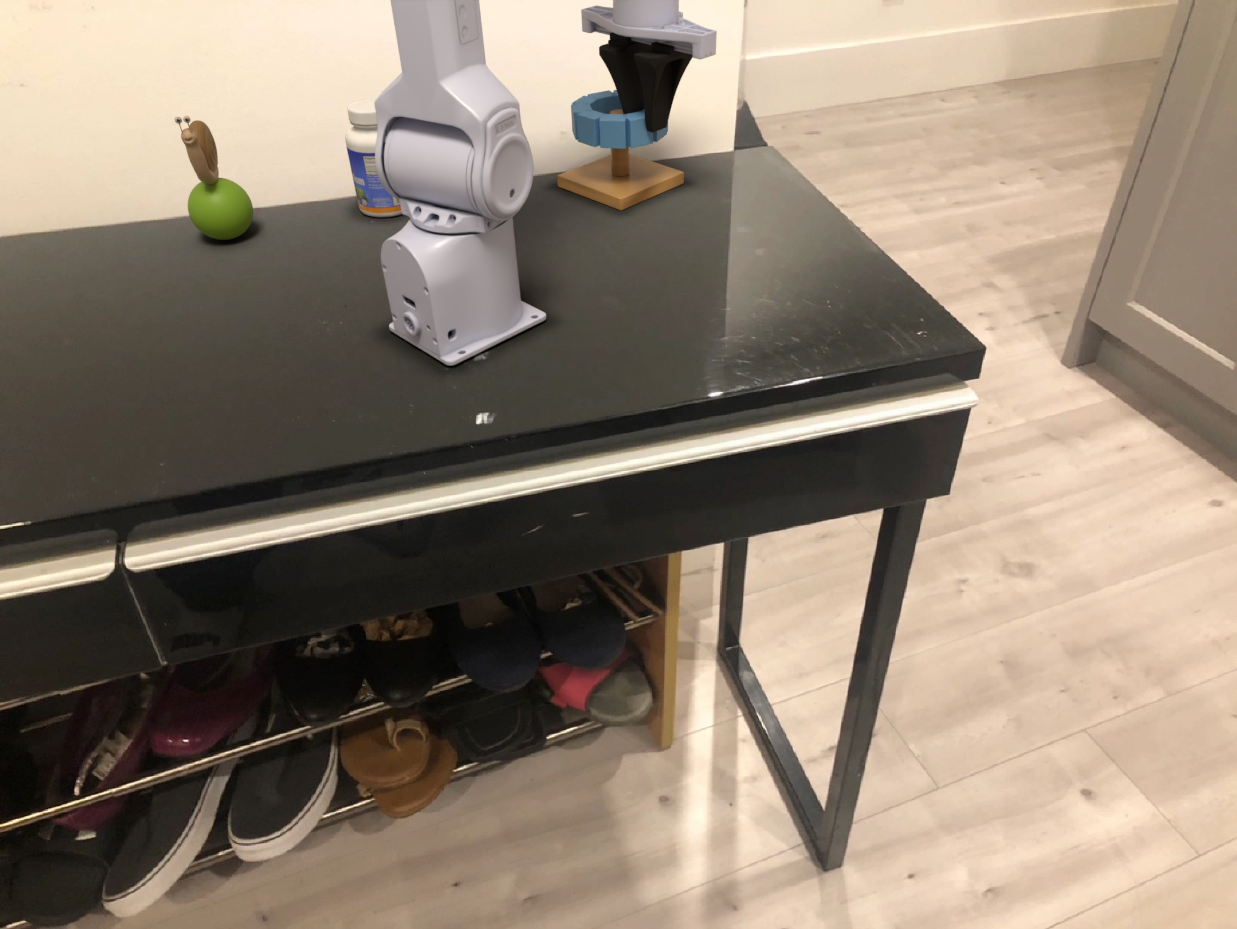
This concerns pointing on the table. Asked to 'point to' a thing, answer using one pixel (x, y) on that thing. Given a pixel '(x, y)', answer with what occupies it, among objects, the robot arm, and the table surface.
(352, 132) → the pill bottle
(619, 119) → the segmented ring
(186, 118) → the snail figurine
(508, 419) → the table surface
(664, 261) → the table surface
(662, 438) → the table surface
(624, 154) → the peg
